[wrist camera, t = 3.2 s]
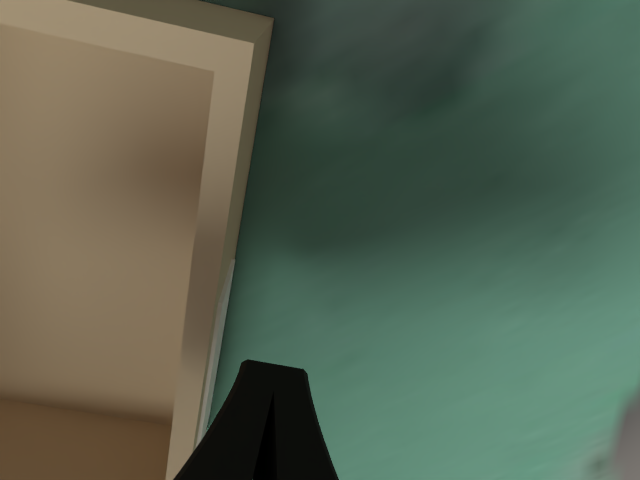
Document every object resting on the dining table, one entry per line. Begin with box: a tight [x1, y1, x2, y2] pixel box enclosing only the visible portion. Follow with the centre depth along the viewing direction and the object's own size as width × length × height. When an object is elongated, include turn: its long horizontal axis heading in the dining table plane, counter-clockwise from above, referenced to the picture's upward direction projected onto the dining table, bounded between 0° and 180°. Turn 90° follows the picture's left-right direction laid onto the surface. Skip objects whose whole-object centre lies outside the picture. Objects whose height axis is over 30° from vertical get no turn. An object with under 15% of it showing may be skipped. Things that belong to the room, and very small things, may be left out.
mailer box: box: [0, 0, 274, 480], centre depth 13 cm, size 14×10×4 cm
